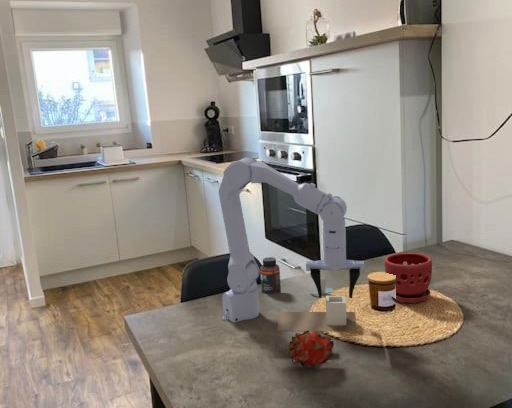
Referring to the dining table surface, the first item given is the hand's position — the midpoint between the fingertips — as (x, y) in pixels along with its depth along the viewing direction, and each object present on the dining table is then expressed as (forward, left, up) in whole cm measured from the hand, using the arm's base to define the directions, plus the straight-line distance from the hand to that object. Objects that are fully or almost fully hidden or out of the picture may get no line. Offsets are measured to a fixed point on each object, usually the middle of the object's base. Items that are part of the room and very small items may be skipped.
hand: (335, 296), depth 136 cm
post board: (-4, +3, -8) cm, 10 cm away
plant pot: (+29, +4, -9) cm, 30 cm away
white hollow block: (0, 0, -7) cm, 7 cm away
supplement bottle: (-2, +30, -8) cm, 31 cm away
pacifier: (+9, +19, -9) cm, 23 cm away
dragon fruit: (-16, -12, -9) cm, 22 cm away
